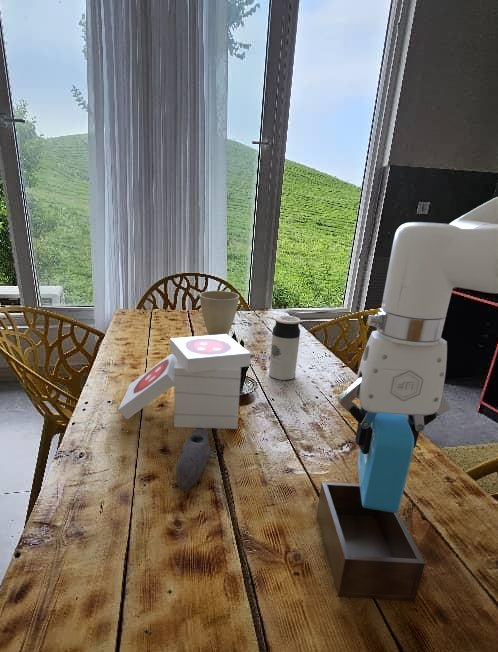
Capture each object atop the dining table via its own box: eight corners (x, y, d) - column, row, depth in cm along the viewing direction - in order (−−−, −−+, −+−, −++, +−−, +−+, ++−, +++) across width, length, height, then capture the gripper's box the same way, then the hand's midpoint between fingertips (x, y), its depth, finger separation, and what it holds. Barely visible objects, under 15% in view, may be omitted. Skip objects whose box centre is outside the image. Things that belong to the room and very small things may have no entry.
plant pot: (197, 329, 178) (198, 290, 172) (233, 330, 179) (236, 290, 173) (199, 341, 164) (201, 299, 158) (239, 341, 166) (242, 299, 160)
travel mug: (287, 369, 141) (293, 314, 134) (299, 379, 134) (306, 321, 127) (264, 371, 138) (269, 315, 132) (275, 381, 131) (281, 323, 125)
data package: (356, 464, 71) (369, 396, 66) (386, 468, 70) (400, 400, 66) (362, 512, 60) (378, 435, 56) (397, 518, 59) (416, 440, 55)
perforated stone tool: (194, 501, 79) (194, 468, 77) (166, 496, 80) (165, 463, 78) (213, 457, 93) (215, 427, 90) (189, 453, 94) (190, 424, 91)
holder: (377, 517, 77) (384, 485, 75) (414, 601, 61) (425, 563, 59) (316, 514, 77) (321, 481, 75) (338, 596, 62) (345, 559, 59)
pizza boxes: (131, 394, 119) (129, 330, 113) (243, 398, 120) (247, 334, 113) (116, 429, 102) (112, 355, 95) (247, 434, 102) (252, 361, 95)
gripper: (348, 331, 52) (327, 461, 59) (494, 338, 52) (456, 468, 59) (335, 315, 59) (318, 433, 66) (463, 321, 59) (433, 439, 66)
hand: (383, 449), depth 63 cm, fingers closed on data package, 5 cm apart
